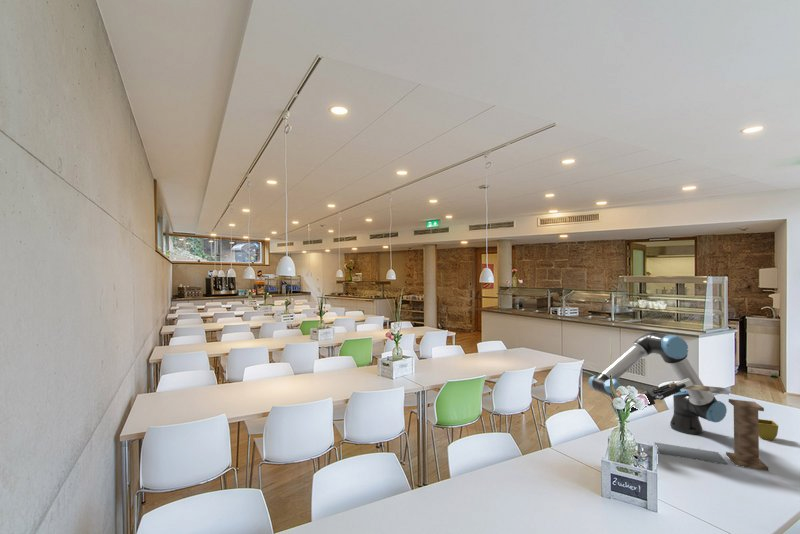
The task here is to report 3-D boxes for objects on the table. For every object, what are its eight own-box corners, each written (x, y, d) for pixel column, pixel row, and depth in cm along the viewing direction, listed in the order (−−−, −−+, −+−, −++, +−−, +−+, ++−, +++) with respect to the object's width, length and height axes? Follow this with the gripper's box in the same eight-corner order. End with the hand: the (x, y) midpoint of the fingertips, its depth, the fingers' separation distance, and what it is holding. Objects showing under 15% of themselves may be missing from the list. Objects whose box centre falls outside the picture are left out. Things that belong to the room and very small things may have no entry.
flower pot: (757, 439, 212) (757, 422, 212) (752, 433, 220) (751, 417, 220) (779, 442, 208) (778, 425, 208) (772, 436, 216) (772, 420, 216)
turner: (671, 388, 194) (671, 384, 194) (668, 385, 201) (668, 381, 201) (729, 394, 185) (729, 390, 185) (723, 390, 191) (723, 386, 191)
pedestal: (735, 465, 181) (734, 405, 182) (725, 454, 192) (725, 398, 193) (768, 470, 177) (767, 408, 177) (757, 459, 188) (756, 401, 188)
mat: (659, 453, 193) (659, 452, 193) (654, 443, 205) (654, 442, 205) (727, 464, 182) (727, 463, 182) (718, 453, 194) (717, 452, 194)
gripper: (645, 401, 208) (691, 384, 200) (650, 410, 194) (700, 392, 186) (637, 388, 210) (682, 371, 202) (641, 396, 196) (690, 377, 188)
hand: (690, 381), depth 194 cm, fingers closed on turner, 2 cm apart
